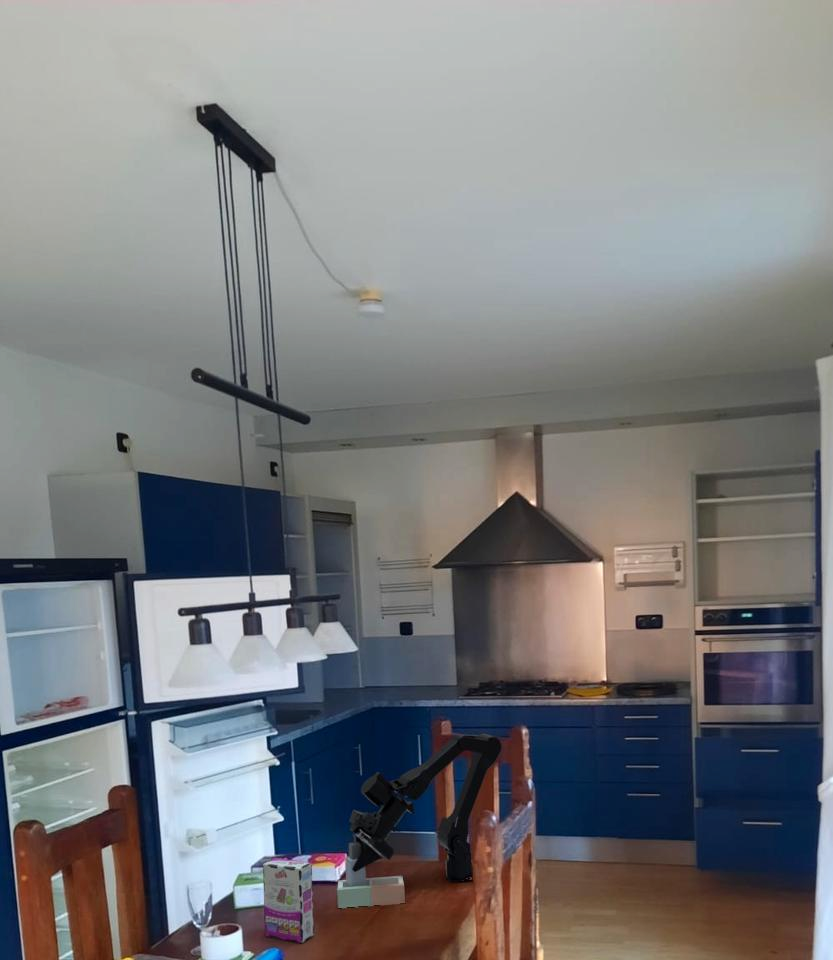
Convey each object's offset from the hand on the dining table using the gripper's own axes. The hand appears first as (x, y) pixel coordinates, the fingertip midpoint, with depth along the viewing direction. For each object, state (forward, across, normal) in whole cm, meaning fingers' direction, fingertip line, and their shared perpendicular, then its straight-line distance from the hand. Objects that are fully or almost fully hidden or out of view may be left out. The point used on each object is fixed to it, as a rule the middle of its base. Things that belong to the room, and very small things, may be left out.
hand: (350, 868), depth 215 cm
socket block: (+2, +1, +9) cm, 9 cm away
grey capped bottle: (+4, 0, +6) cm, 7 cm away
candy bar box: (+20, +12, -8) cm, 25 cm away
